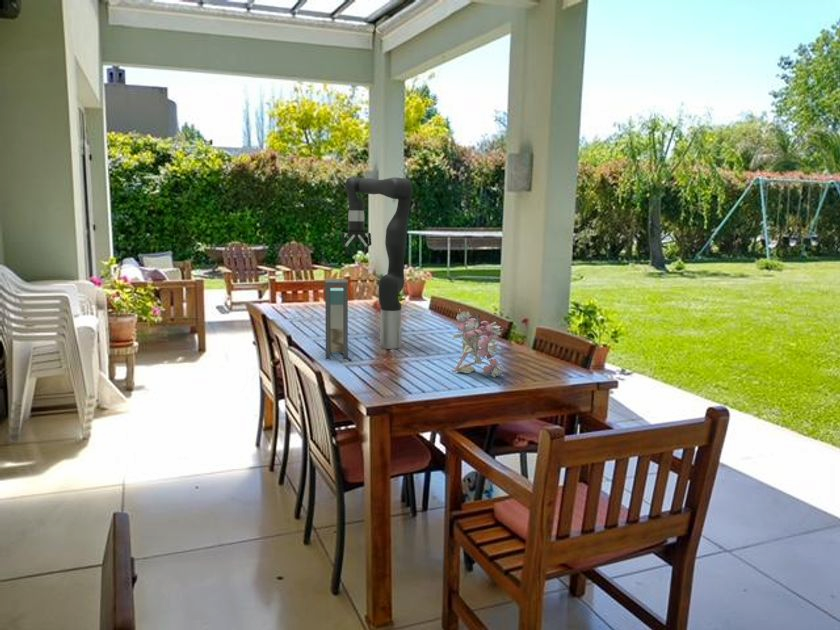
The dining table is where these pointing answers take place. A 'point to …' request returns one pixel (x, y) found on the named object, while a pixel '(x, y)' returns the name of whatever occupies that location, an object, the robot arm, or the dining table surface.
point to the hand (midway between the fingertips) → (356, 254)
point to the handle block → (336, 296)
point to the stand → (329, 284)
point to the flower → (486, 344)
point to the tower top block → (336, 316)
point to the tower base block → (336, 340)
